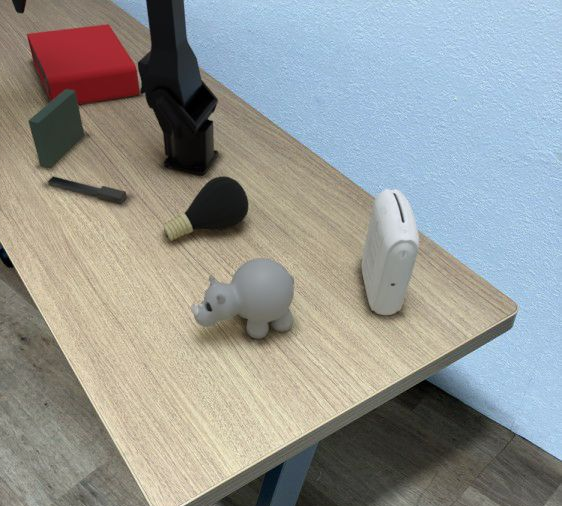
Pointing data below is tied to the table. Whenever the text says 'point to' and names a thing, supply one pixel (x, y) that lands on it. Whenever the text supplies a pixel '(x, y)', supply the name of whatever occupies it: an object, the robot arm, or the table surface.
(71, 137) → the backboard
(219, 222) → the light bulb
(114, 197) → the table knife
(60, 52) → the audio interface
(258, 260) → the chubby cartoon animal
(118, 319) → the table surface
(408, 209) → the photo printer
